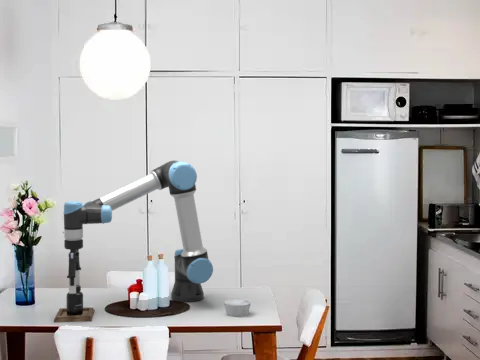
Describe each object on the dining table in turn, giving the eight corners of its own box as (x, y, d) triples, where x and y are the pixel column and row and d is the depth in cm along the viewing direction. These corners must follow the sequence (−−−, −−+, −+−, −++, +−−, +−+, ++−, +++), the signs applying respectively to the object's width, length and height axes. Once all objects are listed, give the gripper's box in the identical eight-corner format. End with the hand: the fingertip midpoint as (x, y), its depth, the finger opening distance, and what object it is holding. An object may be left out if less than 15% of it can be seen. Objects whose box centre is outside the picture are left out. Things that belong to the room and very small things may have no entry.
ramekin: (252, 316, 302) (252, 304, 301) (226, 318, 300) (226, 305, 300) (248, 310, 313) (248, 298, 312) (222, 311, 311) (222, 299, 311)
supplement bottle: (79, 316, 297) (78, 288, 296) (63, 316, 298) (63, 287, 297) (86, 312, 303) (85, 284, 303) (70, 311, 305) (70, 283, 304)
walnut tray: (94, 311, 309) (94, 307, 309) (91, 321, 294) (91, 316, 294) (58, 312, 307) (58, 307, 307) (53, 322, 292) (53, 317, 292)
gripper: (68, 234, 310) (69, 283, 312) (60, 244, 285) (61, 296, 287) (85, 234, 311) (86, 282, 313) (79, 243, 286) (80, 296, 288)
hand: (74, 289), depth 300 cm, fingers open, 13 cm apart
